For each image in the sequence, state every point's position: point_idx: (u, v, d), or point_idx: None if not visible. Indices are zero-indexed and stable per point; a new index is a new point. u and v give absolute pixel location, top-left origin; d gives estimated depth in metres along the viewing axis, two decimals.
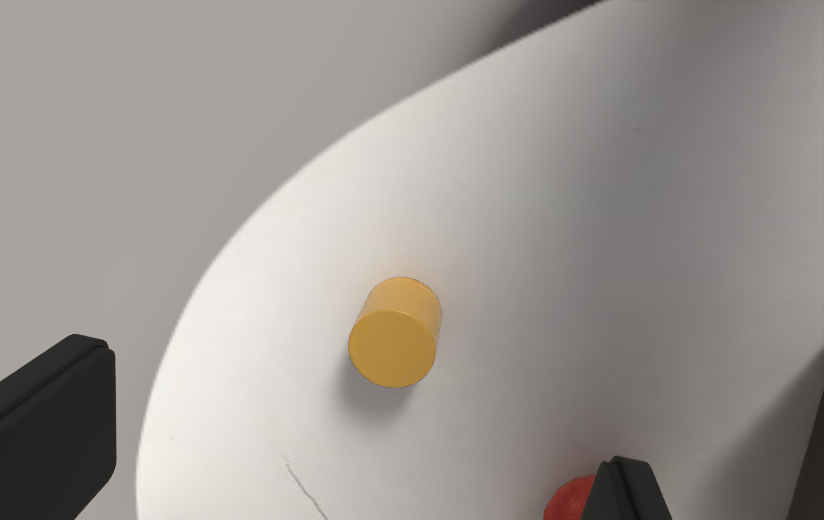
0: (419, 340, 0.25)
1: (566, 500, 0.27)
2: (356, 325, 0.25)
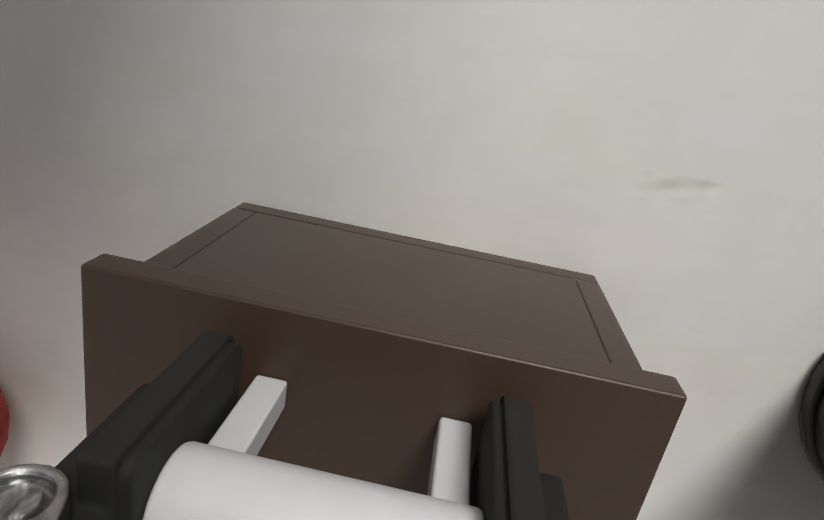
0: None
1: None
2: None
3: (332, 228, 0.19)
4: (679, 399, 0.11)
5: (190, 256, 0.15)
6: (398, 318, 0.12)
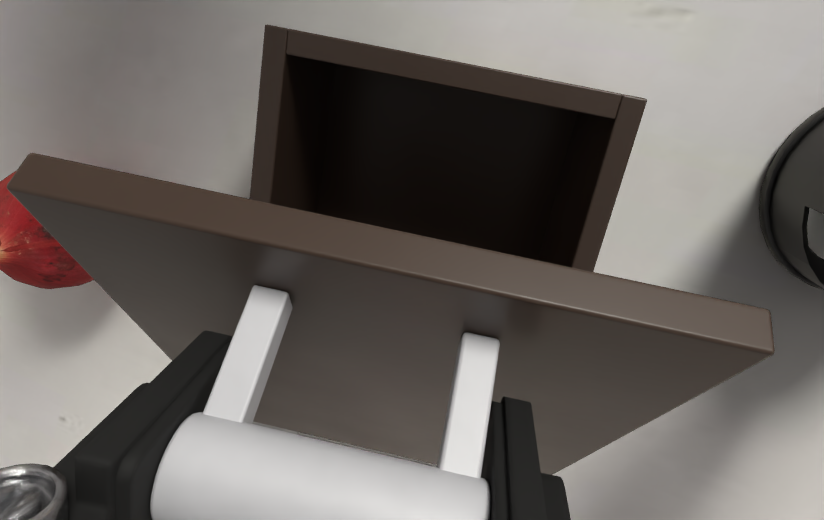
0: None
1: None
2: None
3: None
4: (763, 355, 0.09)
5: None
6: (407, 237, 0.09)
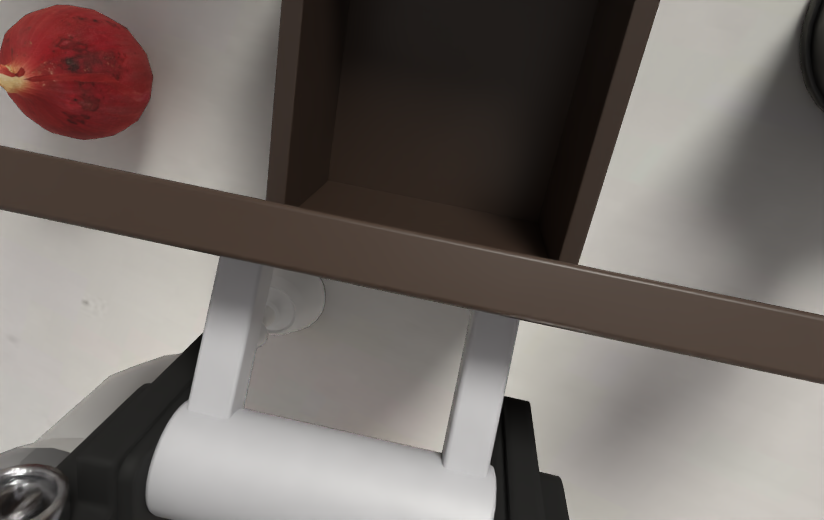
0: None
1: None
2: None
3: None
4: None
5: None
6: (393, 235, 0.07)
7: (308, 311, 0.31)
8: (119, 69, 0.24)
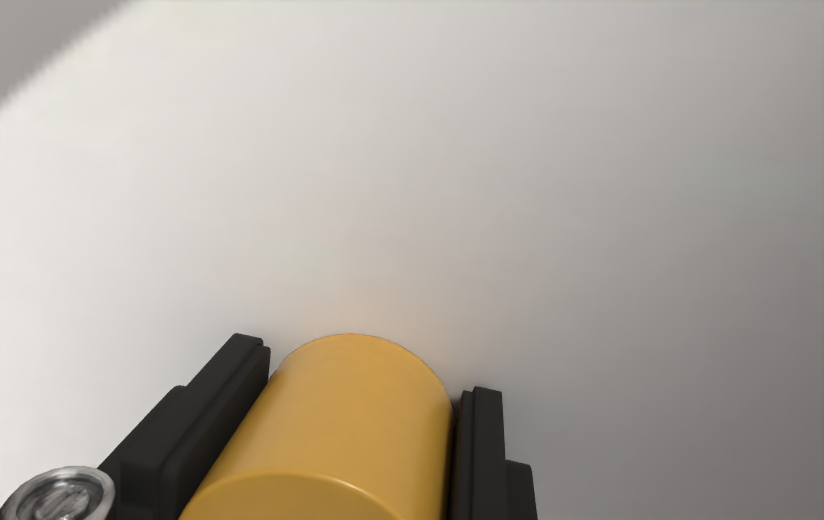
0: None
1: None
2: (201, 497, 0.08)
3: None
4: None
5: None
6: None
7: None
8: None
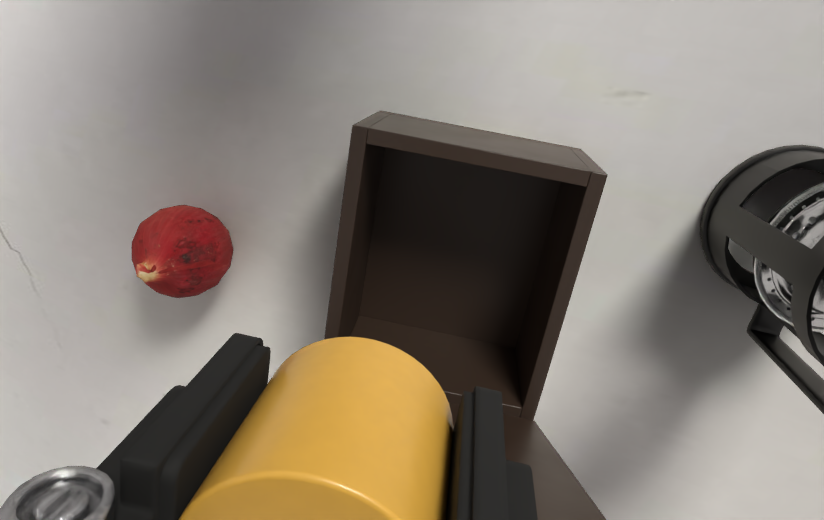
0: None
1: None
2: (200, 500, 0.08)
3: (433, 122, 0.34)
4: None
5: (376, 122, 0.30)
6: None
7: None
8: (215, 254, 0.34)
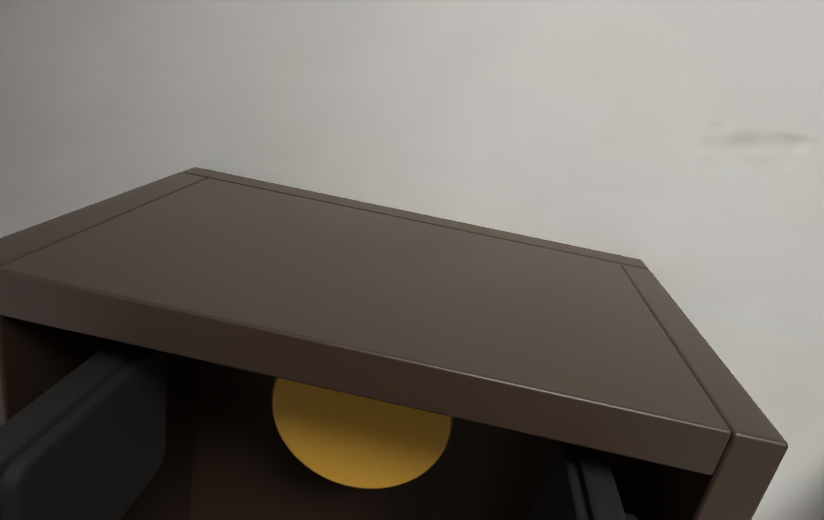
0: None
1: None
2: None
3: (306, 198, 0.15)
4: None
5: (95, 225, 0.11)
6: None
7: None
8: None
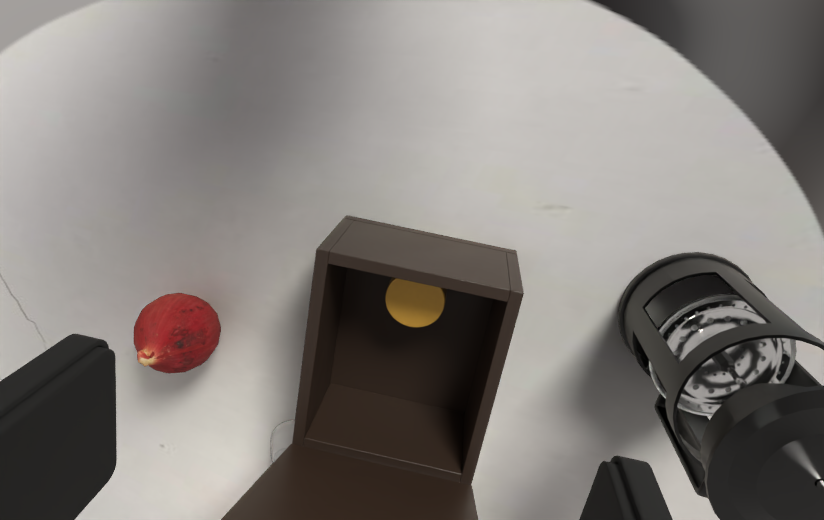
0: (435, 297, 0.37)
1: (153, 301, 0.41)
2: (394, 280, 0.37)
3: (391, 228, 0.40)
4: None
5: (338, 239, 0.36)
6: None
7: None
8: (204, 338, 0.40)
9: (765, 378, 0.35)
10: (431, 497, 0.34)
